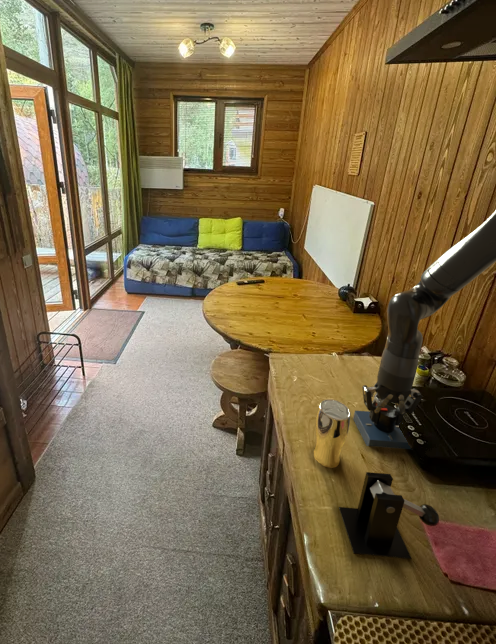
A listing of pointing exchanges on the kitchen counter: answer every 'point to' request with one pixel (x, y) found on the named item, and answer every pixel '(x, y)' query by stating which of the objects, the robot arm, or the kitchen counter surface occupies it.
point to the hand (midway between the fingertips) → (384, 422)
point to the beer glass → (331, 431)
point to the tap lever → (410, 505)
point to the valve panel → (378, 433)
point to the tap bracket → (375, 521)
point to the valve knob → (387, 419)
